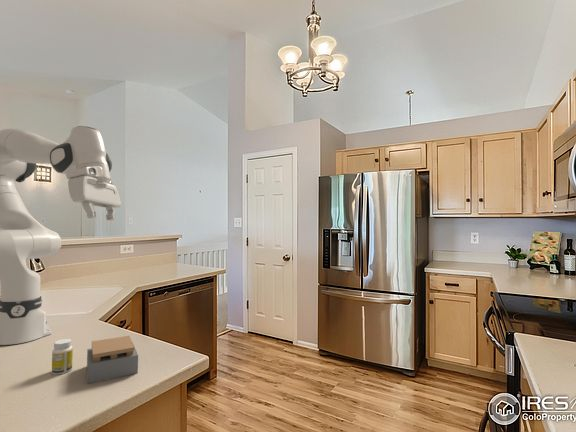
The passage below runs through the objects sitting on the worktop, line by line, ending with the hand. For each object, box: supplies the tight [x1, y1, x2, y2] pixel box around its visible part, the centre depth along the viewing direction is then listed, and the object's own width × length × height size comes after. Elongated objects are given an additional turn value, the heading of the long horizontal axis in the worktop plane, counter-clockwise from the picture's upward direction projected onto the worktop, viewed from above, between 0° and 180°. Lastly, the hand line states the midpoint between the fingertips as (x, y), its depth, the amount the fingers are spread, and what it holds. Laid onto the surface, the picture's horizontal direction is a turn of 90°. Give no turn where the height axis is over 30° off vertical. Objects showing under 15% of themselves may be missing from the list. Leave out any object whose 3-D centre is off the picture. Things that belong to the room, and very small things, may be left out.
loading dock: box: [86, 335, 139, 384], centre depth 94 cm, size 12×12×7 cm
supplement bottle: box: [51, 338, 74, 375], centre depth 92 cm, size 5×5×8 cm
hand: (101, 219), depth 101 cm, fingers open, 8 cm apart
